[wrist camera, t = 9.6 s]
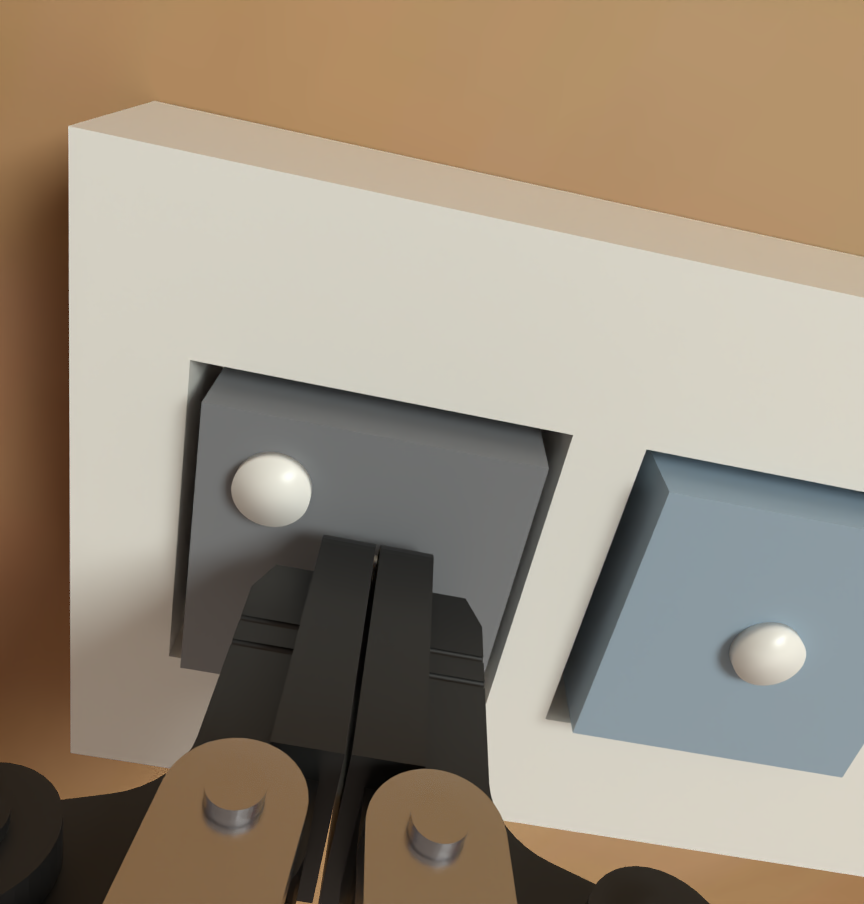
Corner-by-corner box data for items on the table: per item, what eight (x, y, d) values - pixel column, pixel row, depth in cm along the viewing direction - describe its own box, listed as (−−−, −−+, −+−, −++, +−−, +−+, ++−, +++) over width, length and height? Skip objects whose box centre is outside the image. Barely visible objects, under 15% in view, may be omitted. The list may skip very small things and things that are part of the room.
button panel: (132, 633, 16) (70, 752, 14) (155, 100, 12) (68, 126, 9) (1053, 788, 18) (1158, 922, 15) (1396, 374, 13) (1632, 463, 11)
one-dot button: (553, 625, 15) (574, 743, 12) (631, 409, 13) (672, 500, 10) (784, 666, 15) (847, 788, 13) (895, 462, 13) (995, 561, 11)
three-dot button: (221, 567, 14) (176, 677, 12) (246, 332, 12) (197, 408, 10) (467, 610, 15) (471, 726, 12) (531, 389, 13) (550, 476, 10)
